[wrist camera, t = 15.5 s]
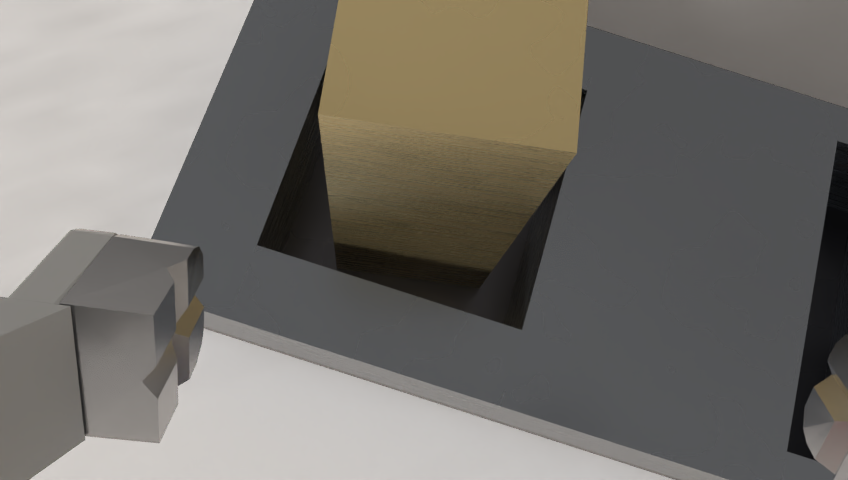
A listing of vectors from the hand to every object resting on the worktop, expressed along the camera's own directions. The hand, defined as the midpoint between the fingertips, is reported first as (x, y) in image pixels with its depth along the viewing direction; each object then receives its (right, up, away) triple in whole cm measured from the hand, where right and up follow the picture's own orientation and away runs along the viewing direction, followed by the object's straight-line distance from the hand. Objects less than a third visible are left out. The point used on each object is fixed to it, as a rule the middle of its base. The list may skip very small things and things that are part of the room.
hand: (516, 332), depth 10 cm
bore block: (+4, 0, +13) cm, 13 cm away
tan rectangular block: (-1, +2, +12) cm, 12 cm away
